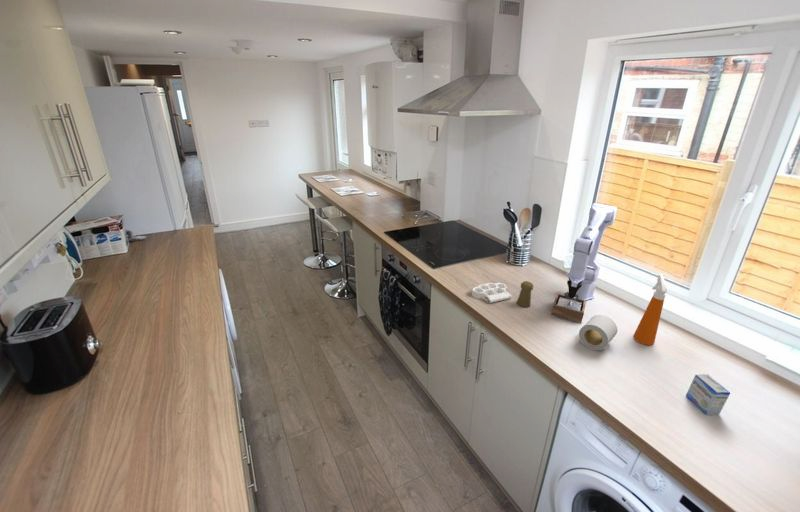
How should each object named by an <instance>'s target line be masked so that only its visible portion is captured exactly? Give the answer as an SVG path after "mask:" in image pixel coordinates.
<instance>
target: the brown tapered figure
mask: <svg viewBox="0 0 800 512" xmlns="http://www.w3.org/2000/svg"><path fill="white" fill-rule="evenodd" d="M533 289H534V284H533V283H532V282H531V281H528V280H527V281H522V282H521V284H520V291H519V295H518V298H517V300H516V305H517V307H520V308H524V309H528V308H530V307H531V303H532V302H531V299H532V290H533Z"/></svg>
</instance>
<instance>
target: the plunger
mask: <svg viewBox="0 0 800 512" xmlns="http://www.w3.org/2000/svg"><path fill="white" fill-rule="evenodd" d="M568 293H569V291H568V292H565V293H564V294H563V295H564V296H565V297H566V298H567V299H566V298H562V297H560V298H559V301H558V304H556V305H559V306H562V307H566V308H570V309H574V310H578V311H581V310H580V309H581V304H582V302H578V301H574V300H578V298H579V296H578V295H575V297H574V298H572V297H569V295H568Z"/></svg>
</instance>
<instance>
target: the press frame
mask: <svg viewBox="0 0 800 512" xmlns="http://www.w3.org/2000/svg"><path fill="white" fill-rule="evenodd" d="M560 297H562V298H566V297H565V296H564V294H561V293H556V296H555V298H554V301H553V305H552V308H551V313H550V316H553V317H557V318H561V319H563V320H567V321H572V322H575V323H579V324H582V321H583V318H584V315H585V309H586V304H587V300H582V299H578V300H574V301H578V302H582V304H581V309H580V311H578V310H574V309H570V308H566V307H562V306H559V305H557V304H558V301H559V298H560ZM566 299H567V298H566Z"/></svg>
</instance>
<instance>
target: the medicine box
mask: <svg viewBox="0 0 800 512" xmlns="http://www.w3.org/2000/svg"><path fill="white" fill-rule="evenodd" d="M730 395H731V392H730V391H729V390H728V389H726V388H725V387H724V386H722V384H720V383H719V382H717V380H715V379H714V378H713V377H712V376H710V375H709V374H707V373H705V374H704V373H702V374H701V373H700V374H695V375H694V377H693V379H692V381H691V383H690V386H689V388H688V390H687V391H686V394H685V396H686V398H687V399H688V400H690V401H691V402H692V403H693V404H694V405H695V406H697V408H699V409H700V410H701V411H702V412H703V413H704V414H705V415H706V416H709V415H711V416H712V415H713V416H714V415H720V414H721V413H722V410H723V409H724V406H725V405H726V403H727V400H728V399H729V397H730Z"/></svg>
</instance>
